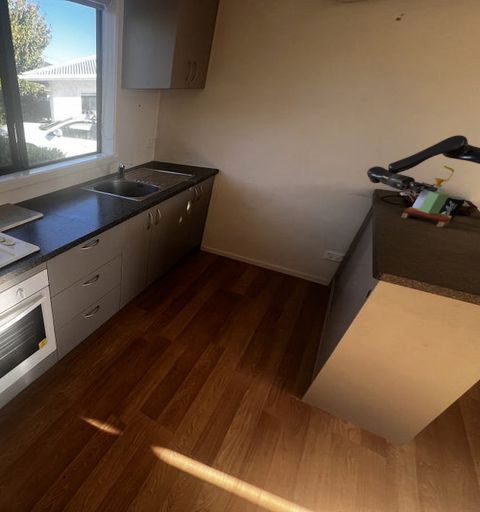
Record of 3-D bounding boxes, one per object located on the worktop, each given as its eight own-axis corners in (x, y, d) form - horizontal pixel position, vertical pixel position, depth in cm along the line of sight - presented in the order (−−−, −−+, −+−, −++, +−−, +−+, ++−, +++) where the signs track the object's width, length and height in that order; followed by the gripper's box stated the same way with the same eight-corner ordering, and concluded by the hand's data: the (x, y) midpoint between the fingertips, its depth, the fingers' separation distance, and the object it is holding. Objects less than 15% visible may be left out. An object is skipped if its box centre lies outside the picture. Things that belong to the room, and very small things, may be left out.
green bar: (428, 210, 152) (439, 191, 147) (438, 213, 148) (449, 194, 143) (418, 210, 152) (429, 191, 147) (427, 213, 148) (438, 194, 143)
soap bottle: (412, 206, 172) (437, 164, 160) (434, 210, 166) (461, 167, 154) (410, 209, 167) (435, 166, 155) (432, 214, 161) (460, 169, 149)
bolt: (429, 209, 171) (468, 216, 161) (431, 207, 167) (471, 214, 157) (435, 200, 170) (473, 206, 160) (436, 197, 167) (476, 203, 156)
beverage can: (455, 222, 150) (470, 200, 144) (439, 220, 152) (453, 198, 146) (446, 217, 156) (460, 196, 150) (431, 216, 158) (444, 194, 152)
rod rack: (447, 224, 147) (452, 215, 145) (441, 227, 145) (447, 218, 142) (406, 215, 160) (411, 206, 157) (400, 217, 157) (405, 208, 155)
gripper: (390, 175, 162) (418, 182, 148) (416, 175, 162) (446, 183, 148) (384, 188, 166) (410, 197, 152) (409, 188, 166) (437, 197, 151)
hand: (428, 190), depth 150 cm, fingers open, 8 cm apart
